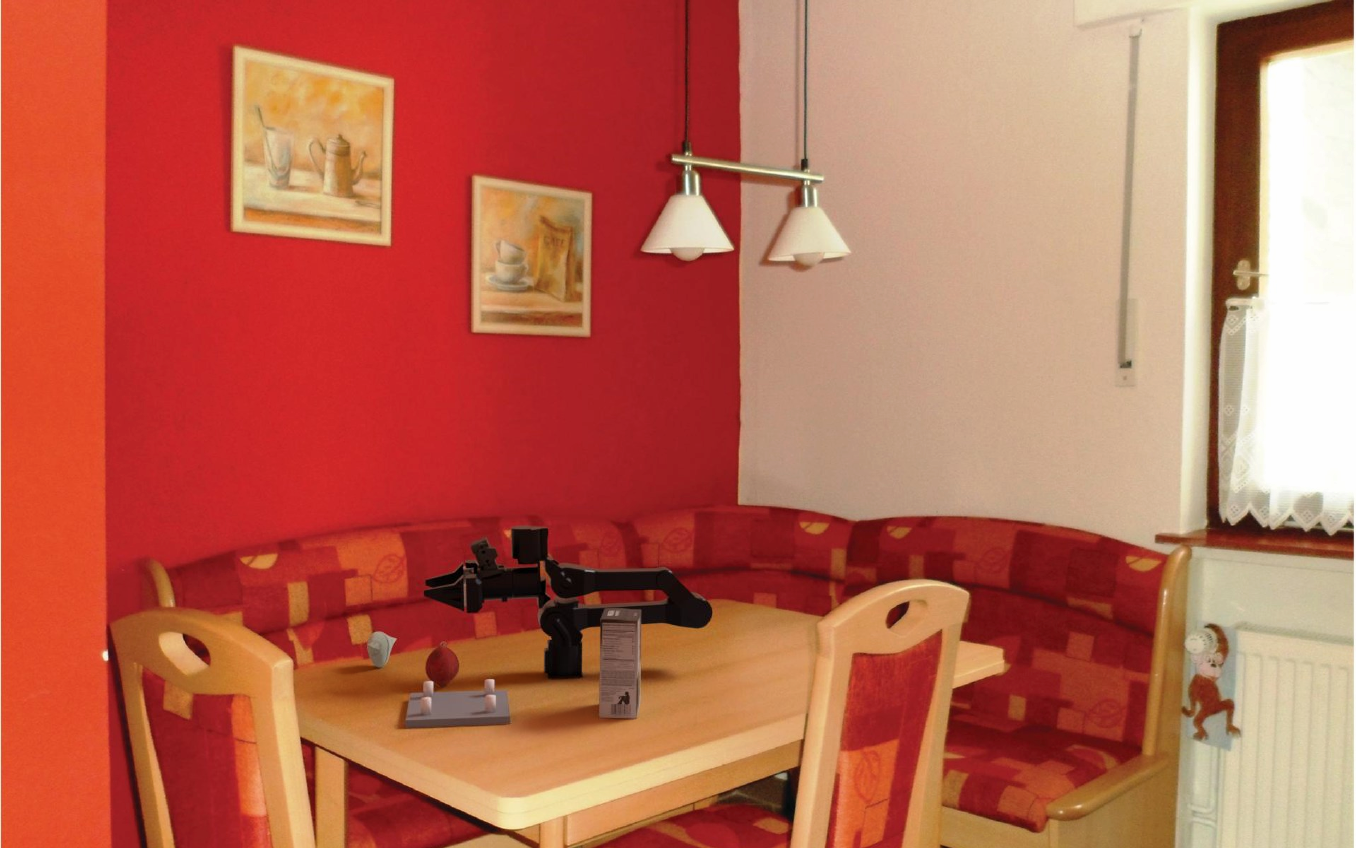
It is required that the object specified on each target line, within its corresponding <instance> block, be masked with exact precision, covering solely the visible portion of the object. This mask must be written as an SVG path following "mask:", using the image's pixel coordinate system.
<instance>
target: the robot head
mask: <svg viewBox="0 0 1356 848" xmlns="http://www.w3.org/2000/svg"><path fill="white" fill-rule="evenodd" d="M396 641H397V638H395V637H392V636H390V635H388V634H386V633H384V632H383V631H375V632H373V633H371V635H370V636H369V637H368V638H367V643H366V650H367V652H368V656H369V659H370V661H371V663H372V664H373V665H374V666H375V667H376V668H380V667H381V668H382V667H384V666H385V665H386V664H387V663H388V661H389V658H390V654H391V652H392V648H393V646H394V643H395V642H396Z"/></svg>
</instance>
